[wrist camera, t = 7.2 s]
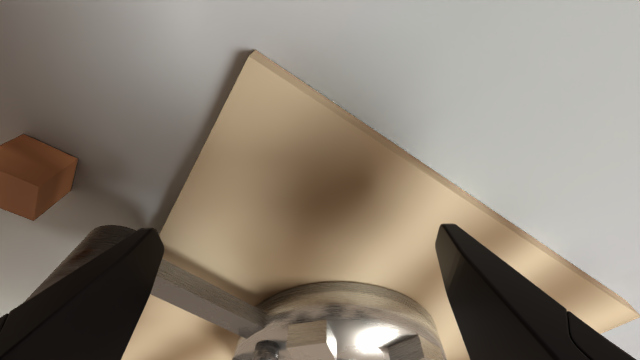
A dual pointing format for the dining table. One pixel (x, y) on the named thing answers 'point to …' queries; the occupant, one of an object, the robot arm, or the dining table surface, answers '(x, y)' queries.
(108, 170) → the dining table surface
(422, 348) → the gear crank handle
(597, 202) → the dining table surface
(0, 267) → the dining table surface
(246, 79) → the base plate
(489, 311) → the robot arm
